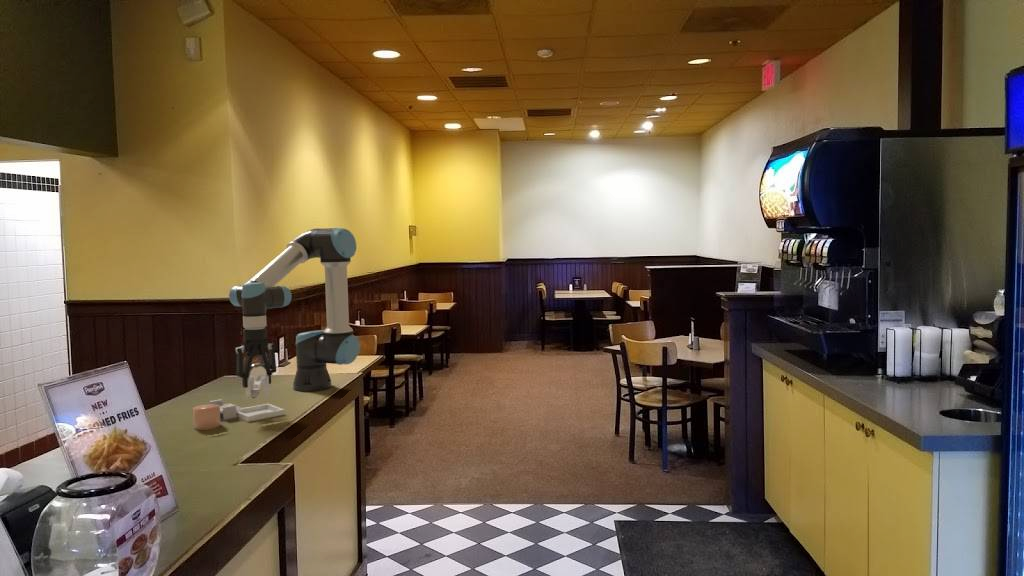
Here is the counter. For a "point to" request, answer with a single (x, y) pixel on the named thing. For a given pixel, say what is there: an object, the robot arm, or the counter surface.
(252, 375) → the light bulb
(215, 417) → the peach rounded pebble
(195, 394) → the counter surface
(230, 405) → the plate
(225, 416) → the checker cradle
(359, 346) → the robot arm
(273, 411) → the tray
